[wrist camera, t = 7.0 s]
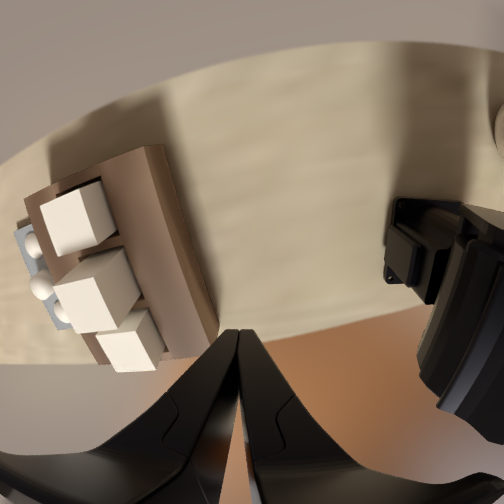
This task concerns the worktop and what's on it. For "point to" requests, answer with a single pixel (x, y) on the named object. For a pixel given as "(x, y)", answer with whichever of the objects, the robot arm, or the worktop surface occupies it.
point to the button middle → (99, 291)
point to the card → (34, 270)
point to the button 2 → (133, 342)
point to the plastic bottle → (500, 131)
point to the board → (142, 248)
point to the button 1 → (79, 219)
